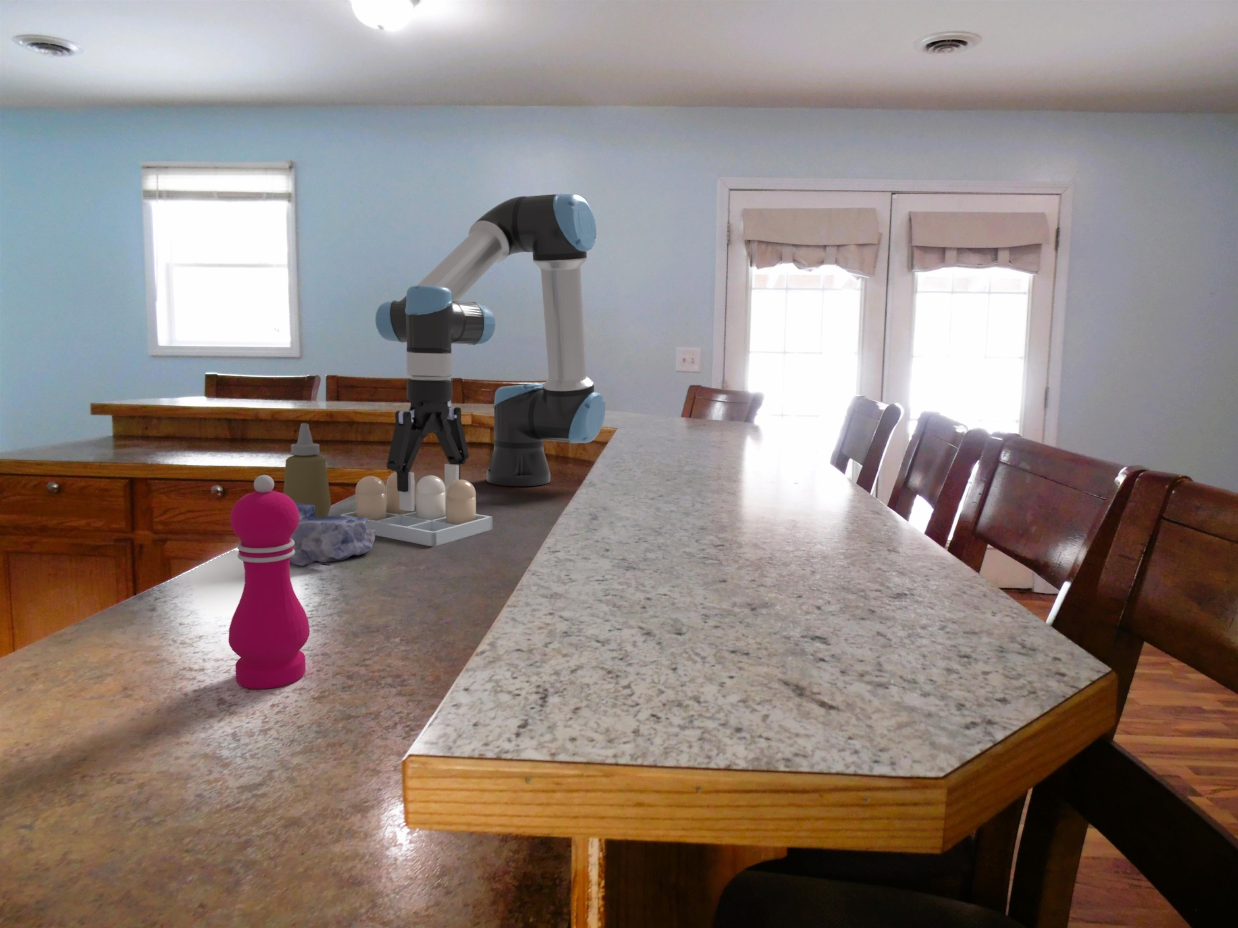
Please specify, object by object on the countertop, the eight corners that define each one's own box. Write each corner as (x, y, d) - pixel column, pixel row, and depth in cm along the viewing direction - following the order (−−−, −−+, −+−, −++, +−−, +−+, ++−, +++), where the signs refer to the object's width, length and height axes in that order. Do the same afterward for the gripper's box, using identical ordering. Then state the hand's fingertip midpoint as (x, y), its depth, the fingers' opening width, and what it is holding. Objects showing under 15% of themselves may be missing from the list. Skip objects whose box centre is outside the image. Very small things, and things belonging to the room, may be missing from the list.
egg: (451, 524, 140) (451, 475, 138) (431, 529, 136) (431, 479, 134) (430, 519, 142) (429, 471, 141) (410, 525, 138) (409, 475, 137)
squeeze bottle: (315, 532, 135) (312, 427, 132) (272, 528, 136) (268, 424, 134) (340, 522, 143) (338, 422, 140) (300, 519, 144) (297, 420, 141)
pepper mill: (224, 671, 78) (214, 472, 75) (300, 656, 83) (294, 467, 80) (238, 698, 73) (228, 484, 70) (319, 681, 77) (313, 478, 74)
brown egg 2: (400, 515, 146) (399, 468, 145) (421, 518, 144) (421, 470, 143) (380, 519, 141) (380, 471, 140) (402, 523, 139) (401, 473, 138)
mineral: (261, 508, 111) (286, 490, 121) (257, 571, 113) (282, 549, 123) (365, 521, 112) (382, 502, 122) (360, 583, 114) (377, 560, 124)
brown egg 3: (459, 525, 139) (459, 476, 138) (481, 529, 137) (481, 479, 135) (439, 530, 135) (439, 480, 134) (462, 535, 132) (462, 483, 131)
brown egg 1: (372, 522, 140) (371, 473, 139) (392, 525, 137) (392, 476, 136) (349, 527, 136) (348, 476, 134) (370, 531, 133) (369, 479, 132)
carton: (401, 517, 148) (400, 501, 147) (492, 533, 137) (492, 516, 137) (338, 532, 135) (338, 514, 135) (434, 551, 125) (433, 532, 124)
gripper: (457, 375, 147) (457, 492, 150) (361, 378, 127) (364, 513, 131) (489, 377, 143) (488, 497, 147) (395, 381, 124) (397, 519, 127)
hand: (430, 504), depth 139 cm, fingers open, 10 cm apart
